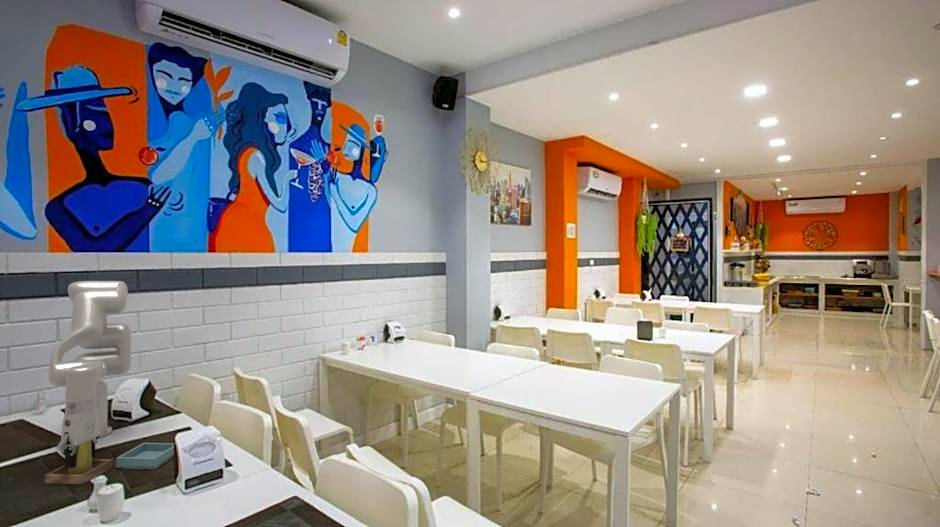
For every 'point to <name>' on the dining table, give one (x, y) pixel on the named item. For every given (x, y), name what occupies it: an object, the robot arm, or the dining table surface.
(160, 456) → the tray
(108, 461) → the frame
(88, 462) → the vase
